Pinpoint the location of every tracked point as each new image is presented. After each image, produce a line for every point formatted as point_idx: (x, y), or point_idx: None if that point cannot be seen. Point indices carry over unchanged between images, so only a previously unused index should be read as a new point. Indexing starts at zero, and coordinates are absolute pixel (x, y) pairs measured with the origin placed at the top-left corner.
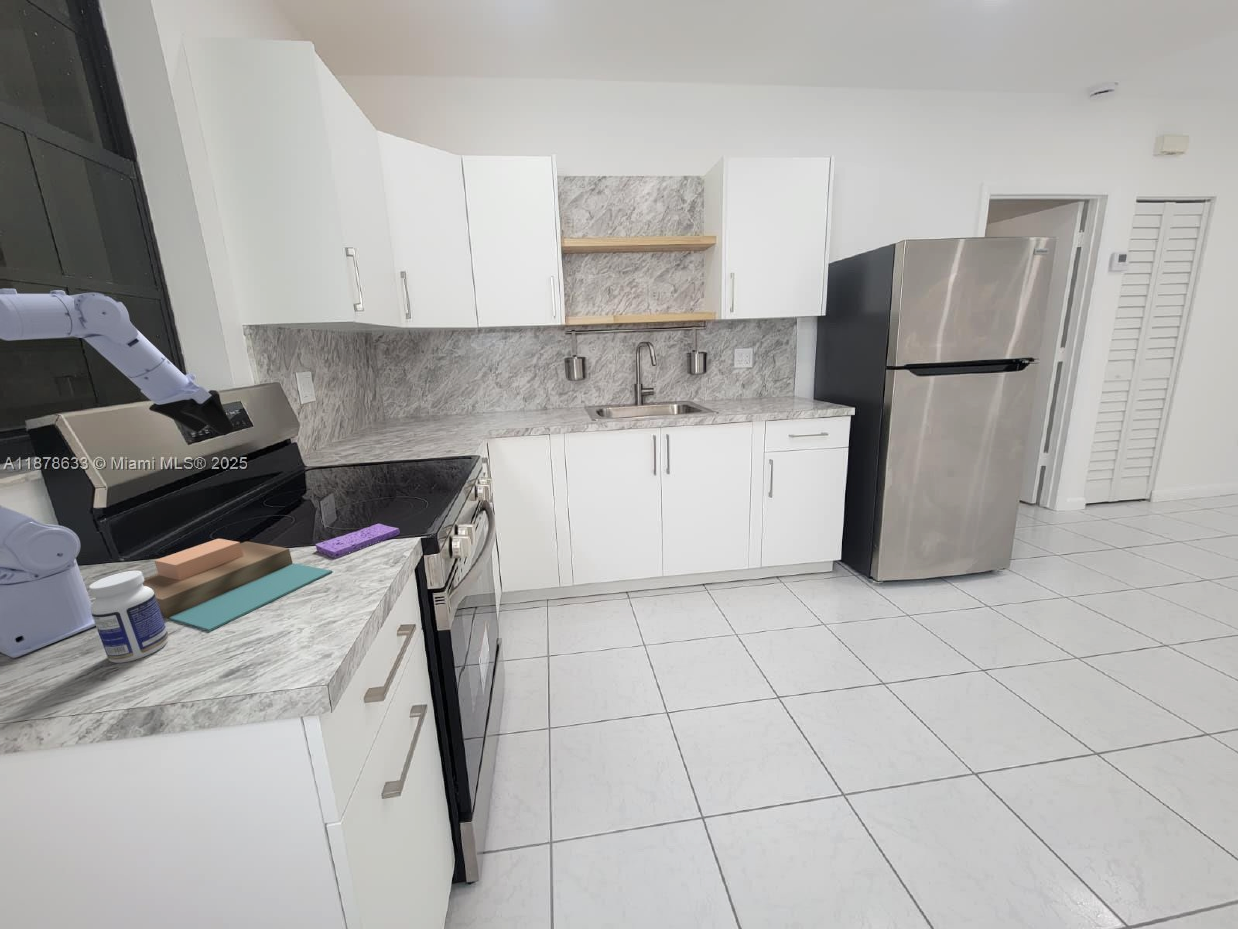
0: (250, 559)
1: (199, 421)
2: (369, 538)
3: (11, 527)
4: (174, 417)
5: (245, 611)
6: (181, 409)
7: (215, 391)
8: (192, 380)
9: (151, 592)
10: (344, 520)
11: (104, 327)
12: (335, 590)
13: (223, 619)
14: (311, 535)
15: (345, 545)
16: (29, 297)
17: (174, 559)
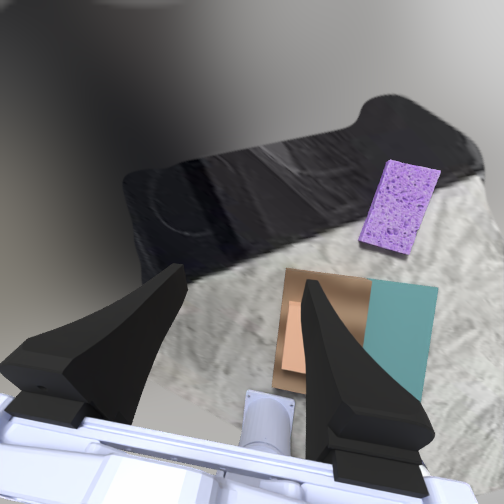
0: (351, 314)
1: (175, 286)
2: (423, 209)
3: None
4: (154, 358)
5: (423, 376)
6: (143, 344)
7: (423, 430)
8: (226, 494)
9: (428, 472)
10: (302, 147)
11: None
12: (481, 323)
13: (415, 391)
14: (302, 201)
15: (406, 234)
16: None
17: (304, 364)
